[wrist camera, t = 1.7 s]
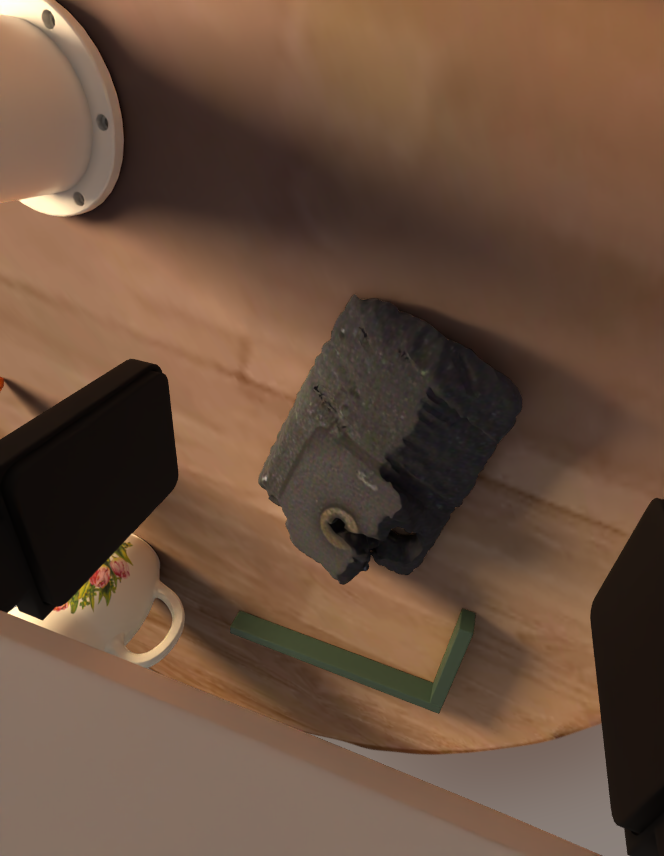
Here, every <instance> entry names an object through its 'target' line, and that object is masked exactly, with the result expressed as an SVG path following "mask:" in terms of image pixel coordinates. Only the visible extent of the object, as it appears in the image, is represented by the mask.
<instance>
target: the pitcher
mask: <svg viewBox="0 0 664 856" xmlns="http://www.w3.org/2000/svg"><path fill="white" fill-rule="evenodd" d="M159 570H160V561H159V558H158V556H157V554H156V553H155V551H154V550H153V549H152V547H151V546H150V545H149V544H148V543H146V542H145V541H144V540H142V539H141V538H139V537H138V536H136V535H134V534H131V535H130V536H129V537H128V538H127V539H126V540H125V541H124V543H123V544H122V545H121V546H120V547H119V548H118V549H117V550H116V551H115V552H114V553H113V554H112V555H111V556H110V557H109V559H108V560H107V561H106V562H105V563H104V564H103V565H102V566H101V567H100V568H99V569H98V570H97V571H96V572H95V573H94V575H93V576H92V577H91V578H90V579H89V580H88V581H87V582H86V583H85V584H84V585H83V586H82V587H81V588H80V589H79V590H78V592H77V593H76V594H75V595H74V596H73V597H72V598H71V599H70V600H69V601H68V602H67V603H66V604H64V605H62V606H59V607H55V608H54V609H53V611H52V612H51V613H50V614H49V615H48V616H47V617H46V618H45V619H44V620H43V621H42V620H40V619H37V618H35V617H32V616H30V615H27V614H25V613H22V612H20V611H19V610H18V607H15V608H14V609H13V610H11V611H10V612H8V614H11V615H13V616H16V617H18V618H21V619H23V620H26V621H28V622H31V623H34V624H36V625H39V626H41V627H44V628H46V629H49V630H51V631H54V632H56V633H59V634H61V635H64V636H66V637H69V638H71V639H74V640H76V641H79V642H81V643H84V644H86V645H89V646H91V647H94V648H96V649H99V650H102V651H104V652H107V653H109V654H112V655H114V656H117V657H119V658H122V659H124V660H127V661H129V662H132V663H134V664H137V665H139V666H142V667H144V668H148V667H151V666H153V665H154V664H156V663H158V662H159V661H160V660H162V659H163V658H164V657H165V656H166V655H167V654H168V653H169V652H170V651H171V650H172V648H173V647H174V646H175V644H176V643H177V641H178V639H179V638H180V636H181V634H182V631H183V628H184V622H185V614H184V608H183V605H182V602H181V600H180V598H179V597H178V596H177V594H176V593H175V592H174V591H172V590H171V589H170V588H169V587H167V586H166V585H164V584H163V583H162V582H161V581H160V580H159V574H160V572H159ZM155 598H159V599H161V600H162V601H163V602H165V604H166V605H167V606H168V608H169V610H170V612H171V615H172V625H171V628H170V630H169V632H168V634H167V635H166V637H165V638H164V639H163V641H162V642H161V643H160V644H159V645H158V646H156V647H155V648H154V649H152V650H151V651H149V652H146V653H144V654H135V653H132V652H131V651H129V650H128V649H127V648H126V646H125V645H126V644H127V643H128V642H129V641H130V640H131V639H132V638H133V636H134V635H135V634H136V633H137V631H138V630H139V629H140V627H141V625H142V624H143V622H144V621H145V619H146V617H147V615H148V613H149V611H150V609H151V607H152V604H153V602H154V599H155Z"/></svg>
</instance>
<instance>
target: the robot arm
mask: <svg viewBox="0 0 664 856" xmlns="http://www.w3.org/2000/svg"><path fill="white" fill-rule="evenodd" d="M123 146H124V135H123V123H122V115H121V111H120V106H119V101H118V97H117V93H116V91H115V88H114V85H113V82H112V79H111V76H110V73H109V71H108V69H107V67H106V65H105V63H104V61H103V59H102V57H101V55H100V53H99V51H98V49H97V47H96V46H95V45H94V43H93V42H92V40H91V39H90V37H89V36H88V34H87V33H86V31H85V30H84V28H83V27H82V26H81V25H80V24H79V23H78V22H77V20H76V19H75V18H74V17H73V16H72V15H71V14H70V13H69V12H68V11H67V10H66V9H65V8H64V7H62V6H61V5H60V4H59V3H57V2H56V1H55V0H0V203H5V202H10V201H16V200H19V201H20V202H22V203H23V204H25V205H27V206H29V207H30V208H32V209H34V210H36V211H38V212H41V213H44V214H47V215H50V216H59V217H68V216H73V215H79V214H82V213H85V212H88V211H91V210H93V209H94V208H96V207H97V206H99V205H100V204H102V203H103V202H104V200H105V199H106V198H107V197H108V196H109V194H110V193H111V192H112V190H113V188H114V186H115V183H116V181H117V179H118V177H119V173H120V169H121V164H122V160H123ZM177 481H178V465H177V456H176V447H175V439H174V430H173V421H172V412H171V403H170V394H169V385H168V379H167V377H166V375H165V374H163V373H162V370H161V369H160V367H159V366H158V365H156V364H152V363H148V362H144V361H140V360H136V359H129V360H126V361H125V362H123V363H122V364H120V365H118V366H117V367H115V368H114V369H112V370H110V371H109V372H107V373H106V374H104V375H102V376H101V377H99V378H98V379H96V380H94V381H93V382H91V383H90V384H88V385H87V386H85V387H83V388H82V389H80V390H79V391H77V392H75V393H74V394H72V395H71V396H69V397H67V398H66V399H64V400H63V401H61V402H59V403H58V404H56V405H55V406H53V407H51V408H50V409H48V410H47V411H45V412H43V413H42V414H40V415H39V416H37V417H35V418H34V419H32V420H31V421H29V422H27V423H26V424H24V425H23V426H21V427H20V428H18V429H16V430H15V431H13V432H12V433H10V434H8V435H7V436H5V437H4V438H2V439H0V856H602V855H599V854H597V853H595V852H592V851H590V850H588V849H585V848H583V847H580V846H578V845H576V844H573V843H571V842H569V841H566V840H564V839H562V838H560V837H557V836H555V835H553V834H550V833H548V832H546V831H543V830H541V829H538V828H536V827H534V826H532V825H529V824H527V823H525V822H522V821H520V820H518V819H515V818H513V817H510V816H508V815H506V814H503V813H501V812H498V811H496V810H493V809H491V808H489V807H486V806H483V805H481V804H479V803H477V802H474V801H472V800H469V799H466V798H464V797H462V796H459V795H457V794H454V793H452V792H450V791H447V790H445V789H442V788H440V787H437V786H435V785H433V784H430V783H427V782H425V781H423V780H420V779H418V778H415V777H413V776H411V775H408V774H406V773H403V772H401V771H398V770H396V769H393V768H391V767H389V766H386V765H384V764H381V763H379V762H376V761H374V760H371V759H369V758H366V757H364V756H362V755H359V754H357V753H354V752H352V751H350V750H347V749H345V748H342V747H340V746H337V745H335V744H332V743H330V742H328V741H325V740H323V739H320V738H318V737H315V736H313V735H310V734H308V733H305V732H303V731H300V730H298V729H295V728H293V727H290V726H288V725H286V724H283V723H281V722H278V721H276V720H273V719H271V718H268V717H266V716H263V715H261V714H258V713H256V712H253V711H251V710H248V709H246V708H243V707H241V706H239V705H236V704H234V703H231V702H229V701H226V700H224V699H221V698H219V697H216V696H214V695H211V694H209V693H206V692H204V691H201V690H199V689H196V688H194V687H191V686H189V685H186V684H184V683H181V682H179V681H177V680H174V679H172V678H169V677H167V676H164V675H162V674H159V673H157V672H154V671H152V670H149V669H147V668H144V667H142V666H139V665H137V664H134V663H132V662H129V661H127V660H124V659H122V658H119V657H117V656H114V655H112V654H109V653H107V652H104V651H102V650H99V649H96V648H94V647H91V646H89V645H86V644H84V643H81V642H79V641H76V640H74V639H71V638H69V637H66V636H64V635H61V634H59V633H56V632H54V631H51V630H49V629H46V628H44V627H41V626H39V625H36V624H34V623H31V622H28V621H26V620H23V619H21V618H18V617H16V616H13V615H11V614H8V612H9V611H10V610H11V609H12V608H13V607H14V606H15V605H17V607H18V610H19V611H20V612H22V613H25V614H27V615H30V616H32V617H35V618H37V619H40V620H42V621H43V620H44V619H45V618H46V617H47V616H48V615H49V614H50V613H51V612H52V611H53V609H54V608H55V607H59V606H62V605H64V604H66V603H67V602H68V601H69V600H70V599H71V598H72V597H73V596H74V595H75V594H76V593H77V592H78V590H79V589H80V588H81V587H82V586H83V585H84V584H85V583H86V582H87V581H88V580H89V579H90V578H91V577H92V576H93V575H94V573H95V572H96V571H97V570H98V569H99V568H100V567H101V566H102V565H103V564H104V563H105V562H106V561H107V560H108V559H109V557H110V556H111V555H112V554H113V553H114V552H115V551H116V550H117V549H118V548H119V547H120V546H121V545H122V544H123V543H124V541H125V540H126V539H127V538H128V537H129V536H130V535H131V534H132V533H133V532H134V531H135V530H136V529H137V528H138V527H139V525H140V524H141V523H142V522H143V521H144V520H145V519H146V518H147V517H148V516H149V515H150V514H151V513H152V512H153V511H154V510H155V508H156V507H157V506H158V505H159V504H160V503H161V502H162V501H163V500H164V499H165V498H166V497H167V496H168V495H169V494H170V492H171V491H172V490H173V489H174V487H175V486H176V483H177ZM590 619H591V629H592V638H593V648H594V657H595V666H596V675H597V684H598V694H599V703H600V712H601V721H602V730H603V739H604V749H605V758H606V767H607V776H608V784H609V795H610V804H611V811H612V816H613V819H614V822H615V823H616V824H617V825H618V826H621V827H623V828H624V829H625V838H626V846H627V854H628V855H630V856H664V499H659V498H655V499H653V500H652V501H651V502H650V504H649V505H648V507H647V509H646V511H645V512H644V514H643V516H642V518H641V519H640V521H639V523H638V524H637V526H636V528H635V530H634V531H633V533H632V535H631V536H630V538H629V540H628V542H627V543H626V545H625V547H624V549H623V550H622V552H621V554H620V555H619V557H618V559H617V561H616V562H615V564H614V566H613V567H612V569H611V571H610V573H609V574H608V576H607V578H606V579H605V581H604V583H603V585H602V586H601V588H600V590H599V592H598V593H597V595H596V597H595V599H594V601H593V604H592V608H591V615H590Z"/></svg>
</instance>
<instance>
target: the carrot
mask: <svg viewBox="0 0 664 856" xmlns="http://www.w3.org/2000/svg"><path fill="white" fill-rule="evenodd" d="M3 386H4V379H3V378H2V377H0V391H1V389H2V388H3Z"/></svg>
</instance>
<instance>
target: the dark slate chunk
mask: <svg viewBox="0 0 664 856" xmlns="http://www.w3.org/2000/svg"><path fill="white" fill-rule="evenodd" d="M521 409H522V397H521V394H520V392H519V390H518V388H517V387H516V386H515V385H514V384H513V382H512V381H511V380H510V379H509V378H508V377H506V376H505V375H503V374H502V373H500V372H498V371H496V370H495V369H493V368H492V367H490V366H489V365H488V364H486V363H485V362H483V361H482V360H481V359H480V358H478V357H477V356H476V355H475V353H474V352H473V351H472V350H471V349H467V348H465V347H464V346H463V345H461V344H459V343H456V342H454V341H452V340H451V339H449V340H447V338H446V337H445V336H443V335H442V334H441V333H440V332H439V331H437V330H436V329H435V328H434V327H432V326H431V325H430V324H429V323H428V322H426V321H424V320H421V319H419V318H417V317H413V316H412V315H411V314H409V313H406V312H401V311H398V308H397V307H396V306H394V305H393V304H392V303H390V302H384V301H381V300H379V299H375V298H374V299H366V300H362V299H359V298H358V297H357V296H356V295H355V294H354V295H353V296H352V297H351V299H350V301H349V302H348V303H347V305H346V307H345V310H344V311H343V312H342V313H341V314H340V315H339V317H338V318H337V320H336V323H335V325H334V328H333V330H332V333H331V339H330V341H328V342H326V343H325V344H324V345H323V347H322V352H321V354H320V355H319V356H317V357H316V359H315V365H314V366H313V367H312V368H311V370H310V372H309V374H308V376H307V378H306V380H305V382H304V383H303V385H302V387H301V390H300V391H299V392H298V393H297V398H296V400H295V403H294V406H293V407H292V409H291V410H290V412H289V415H288V417H287V419H286V421H285V422H284V423H283V425H282V427H281V430H280V431H279V433H278V435H277V440H276V442H275V444H274V445H273V446H272V447H271V450H270V454H269V456H268V458H267V460H266V462H265V463H264V466H263V469H262V471H261V473H260V475H259V480H258V483H259V484H260V486H261V487H262V488H264V489H265V490H266V491H267V492H268V495H269V500H271V501H272V502H273V503H275V504H276V505H278V506H281V507H282V510H283V512H284V514H285V516H286V517H287V521H286V527H287V529H288V531H289V533H290V539H291V541H292V543H293V544H294V545H295V546H296V547H297V548H298V549H299V550H300V551H301V552H303V553H305V554H306V555H307V556H309V557H311V558H313V559H314V560H315V561H316V562H318V563H321V564H322V566H323V567H324V568H325V569H326V570H327V571H328V572H329V573H330V575H331V576H332V577H333V578H334V579H336V580H338V581H339V583H340V584H346V583H348V582H349V581H351V580H352V579H353V578H354V577H355V576H356V575H357V574H358V573H359V572H360V571H366V570H368V569H369V564H368V562H369V561H370V557H371V555H372V556H373V558H374V560H375V562H376V563H377V564H379V565H382V566H385V567H386V568H387V569H389V570H391V571H395V572H396V573H398V574H401V575H409V574H410V573H411V572H413V570H414V569H415V568H417V567H418V566H419V565H420V564H421V563H422V562H423V559H424V557H425V556H426V554H427V552H428V551H429V550H430V549H431V547H432V546H433V545H434V543H435V541H436V539H437V538H438V536H439V535H440V533H441V531H442V529H443V527H444V526H445V524H446V523H447V521H448V520H449V519H450V514H451V513H452V512H453V511H454V510H455V507H459V506H460V505H461V504H462V501H463V499H464V498H465V497H466V496H467V495H468V494H469V493H470V491H471V490H472V489H473V487H474V486H475V483H476V479H477V478H478V474H479V473H480V472H481V471H482V470H483V469H484V466H485V464H486V463H487V460H488V459H489V458H490V457H491V456H492V454H493V452H494V451H495V449H496V446H497V444H498V443H499V442H500V441H501V440H502V438H503V437H504V436H505V435H506V434H507V433H508V432H509V431H510V430H511V429H512V427H513V426H514V424H515V422H516V416H517V415H518V414H519V413H520V412H521ZM396 527H400V528H403V529H404V530H405V531H406V532H408V533H412V532H413V533H416V534H413V535H399V534H396V533H395V532H394V531H393V530H391V529H393V528H396ZM370 550H372V552H370Z"/></svg>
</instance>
